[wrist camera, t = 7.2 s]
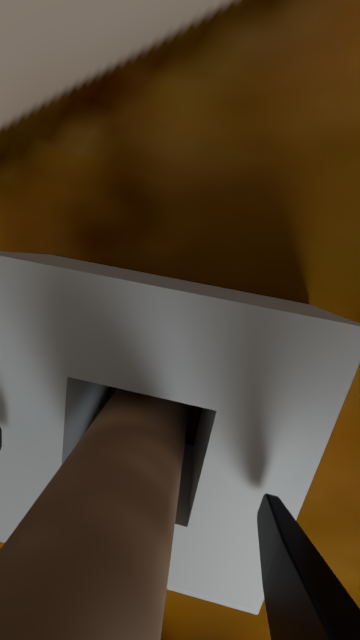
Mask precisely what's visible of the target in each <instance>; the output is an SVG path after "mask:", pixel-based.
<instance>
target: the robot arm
mask: <svg viewBox="0 0 360 640" xmlns="http://www.w3.org/2000/svg"><path fill="white" fill-rule="evenodd" d="M1 447H2V429H1V427H0V450H1ZM257 527H258V539H259V551H260V563H261V575H262V585H263V592H264V599H265V605H266V611H267V617H268V623H269V629H270V635H271V640H360V609H359V607H358V606H357V605H356V603H355V602H354V600H353V599H352V598H351V596H350V595H349V594H348V592H347V591H346V589H345V588H344V587H343V585H342V584H341V582H340V581H339V580H338V578H337V577H336V575H335V574H334V573H333V571H332V570H331V569H330V567H329V566H328V564H327V563H326V562H325V560H324V559H323V557H322V556H321V555H320V553H319V552H318V551H317V549H316V548H315V546H314V545H313V544H312V542H311V541H310V539H309V538H308V537H307V535H306V534H305V533H304V531H303V530H302V528H301V527H300V526H299V524H298V523H297V521H296V520H295V519H294V517H293V516H292V515H291V513H290V512H289V510H288V509H287V508H286V506H285V505H284V503H283V502H282V501H281V499H280V498H279V497H278V496H275V495H271V494H267V493H266V494H264V496H263V498H262V501H261V504H260V507H259V510H258V513H257Z"/></svg>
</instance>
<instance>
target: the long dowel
mask: <svg viewBox="0 0 360 640" xmlns="http://www.w3.org/2000/svg"><path fill="white" fill-rule="evenodd" d="M189 407H190V405H189V404H184V403H180V402H176V401H171V400H167V399H163V398H158V397H154V396H150V395H145V394H141V393H136V392H132V391H128V390H123V389H119V388H117V390H116V391H115V392H114V394H113V395H112V397H111V398H110V399H109V401H108V402H107V403H106V405H105V406H104V408H103V409H102V410H101V412H100V413H99V414H98V416H97V417H96V419H95V420H94V421H93V423H92V424H91V425H90V427H89V428H88V430H87V431H86V432H85V434H84V435H83V436H82V438H81V439H80V441H79V442H78V443H77V445H76V446H75V447H74V449H73V450H72V452H71V453H70V454H69V456H68V457H67V458H66V460H65V461H64V463H63V464H62V465H61V467H60V468H59V469H58V471H57V472H56V474H55V475H54V476H53V478H52V479H51V480H50V482H49V483H48V485H47V486H46V487H45V489H44V490H43V491H42V493H41V494H40V496H39V497H38V498H37V500H36V501H35V502H34V504H33V505H32V507H31V508H30V509H29V511H28V512H27V513H26V515H25V516H24V518H23V519H22V520H21V522H20V523H19V524H18V526H17V527H16V529H15V530H14V531H13V533H12V534H11V535H10V537H9V538H8V540H7V541H6V542H5V544H4V545H3V546H2V548H1V549H0V640H160V639H161V631H162V623H163V615H164V607H165V599H166V591H167V583H168V575H169V567H170V559H171V551H172V543H173V535H174V527H175V519H176V511H177V503H178V495H179V487H180V479H181V471H182V463H183V455H184V447H185V439H186V431H187V423H188V415H189Z"/></svg>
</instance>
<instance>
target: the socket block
mask: <svg viewBox="0 0 360 640" xmlns="http://www.w3.org/2000/svg"><path fill="white" fill-rule="evenodd" d="M359 363H360V323H357V322H354V321H352V320H349V319H347V318H344V317H341V316H339V315H336V314H334V313H331V312H328V311H326V310H323V309H321V308H318V307H315V306H313V305H310V304H305V303H300V302H295V301H289V300H284V299H279V298H274V297H269V296H263V295H258V294H253V293H248V292H243V291H237V290H232V289H227V288H222V287H217V286H212V285H206V284H201V283H196V282H191V281H186V280H180V279H175V278H170V277H165V276H160V275H154V274H149V273H144V272H139V271H134V270H128V269H123V268H118V267H113V266H108V265H102V264H97V263H92V262H87V261H82V260H76V259H71V258H66V257H61V256H56V255H50V254H35V253H20V252H5V251H0V427H1V429H2V447H1V450H0V542H4V543H5V542H6V541H7V540H8V538H9V537H10V535H11V534H12V533H13V531H14V530H15V529H16V527H17V526H18V524H19V523H20V522H21V520H22V519H23V518H24V516H25V515H26V513H27V512H28V511H29V509H30V508H31V507H32V505H33V504H34V502H35V501H36V500H37V498H38V497H39V496H40V494H41V493H42V491H43V490H44V489H45V487H46V486H47V485H48V483H49V482H50V480H51V479H52V478H53V476H54V475H55V474H56V472H57V471H58V469H59V468H60V467H61V465H62V464H63V463H64V461H65V460H66V458H67V457H68V456H69V454H70V453H71V452H72V450H73V449H74V447H75V446H76V445H77V443H78V442H79V441H80V439H81V438H82V436H83V435H84V434H85V432H86V431H87V430H88V428H89V427H90V425H91V424H92V423H93V421H94V420H95V419H96V417H97V416H98V414H99V413H100V412H101V410H102V409H103V408H104V406H105V405H106V403H107V396H108V388H109V386H110V387H115V388H119V389H123V390H128V391H132V392H136V393H141V394H145V395H150V396H154V397H158V398H163V399H167V400H171V401H176V402H180V403H184V404H189V405H193V406H198V407H202V412H201V416H200V420H199V425H198V429H197V433H196V437H195V442H194V446H193V445H189V444H185V447H184V455H183V463H182V471H181V479H180V487H179V495H178V503H177V511H176V519H175V527H174V535H173V543H172V551H171V559H170V567H169V575H168V583H167V589H168V590H172V591H175V592H179V593H182V594H186V595H189V596H193V597H196V598H200V599H203V600H207V601H210V602H214V603H217V604H221V605H224V606H228V607H231V608H235V609H238V610H242V611H245V612H249V613H252V614H256V615H258V613H259V610H260V608H261V605H262V603H263V600H264V592H263V585H262V575H261V563H260V551H259V539H258V527H257V513H258V510H259V507H260V504H261V501H262V498H263V496H264V494H266V493H267V494H271V495H275V496H278V497H279V498H280V499H281V501H282V502H283V503H284V505H285V506H286V508H287V509H288V510H289V512H290V513H291V515H292V516H293V517H294V519H295V520H296V519H297V516H298V514H299V512H300V509H301V507H302V504H303V502H304V499H305V497H306V494H307V492H308V489H309V487H310V484H311V482H312V479H313V477H314V475H315V472H316V470H317V467H318V465H319V462H320V460H321V457H322V455H323V452H324V450H325V447H326V445H327V442H328V440H329V437H330V435H331V433H332V430H333V428H334V425H335V423H336V420H337V418H338V415H339V413H340V410H341V408H342V405H343V403H344V400H345V398H346V396H347V393H348V391H349V388H350V386H351V383H352V381H353V378H354V376H355V373H356V371H357V368H358V366H359Z"/></svg>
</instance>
